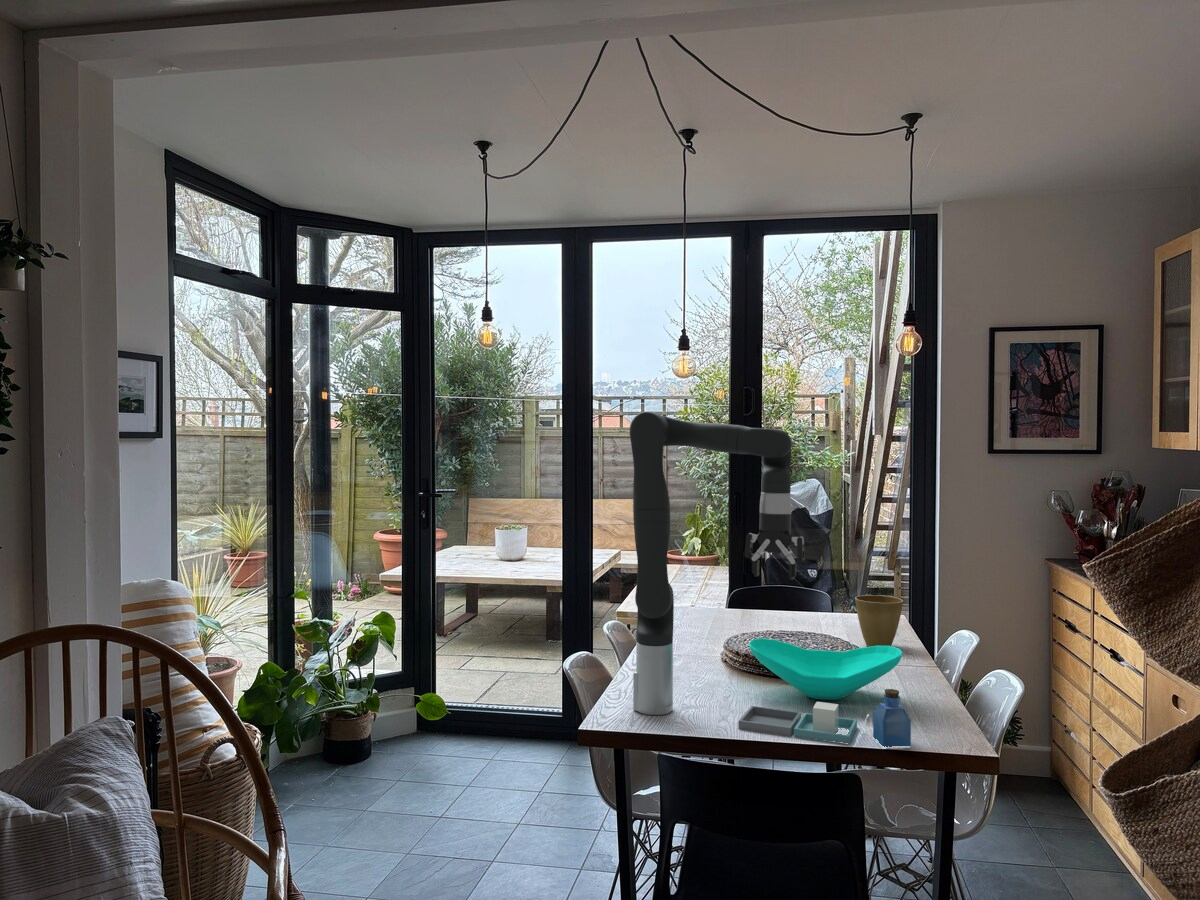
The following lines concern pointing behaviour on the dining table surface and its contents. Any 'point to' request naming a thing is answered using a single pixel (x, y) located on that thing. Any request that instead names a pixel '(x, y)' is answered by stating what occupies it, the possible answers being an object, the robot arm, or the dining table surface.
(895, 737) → the perfume bottle
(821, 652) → the table top decor
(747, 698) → the dining table surface
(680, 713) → the dining table surface
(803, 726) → the teal tray
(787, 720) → the charcoal tray
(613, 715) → the dining table surface
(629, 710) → the dining table surface
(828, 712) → the stone block
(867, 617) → the plant pot
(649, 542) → the robot arm
